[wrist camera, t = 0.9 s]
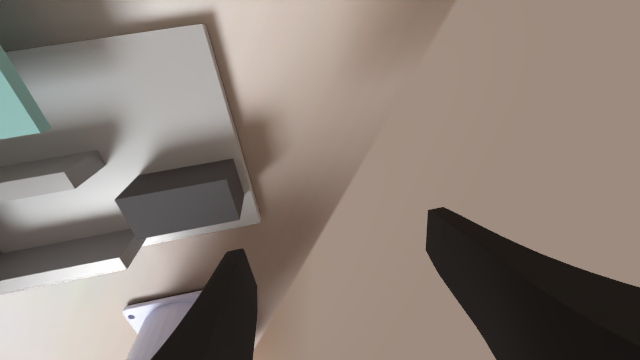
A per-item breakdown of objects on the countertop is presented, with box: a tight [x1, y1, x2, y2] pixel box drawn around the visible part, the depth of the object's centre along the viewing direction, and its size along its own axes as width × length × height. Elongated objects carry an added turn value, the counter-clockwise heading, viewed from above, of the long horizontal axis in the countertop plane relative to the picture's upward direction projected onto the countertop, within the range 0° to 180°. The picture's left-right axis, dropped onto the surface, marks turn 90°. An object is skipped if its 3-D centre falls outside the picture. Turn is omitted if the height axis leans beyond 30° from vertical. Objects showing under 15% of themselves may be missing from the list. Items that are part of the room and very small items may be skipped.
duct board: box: [0, 24, 261, 295], centre depth 16 cm, size 13×18×4 cm
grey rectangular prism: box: [115, 159, 244, 240], centre depth 17 cm, size 3×6×3 cm, turn 97°
